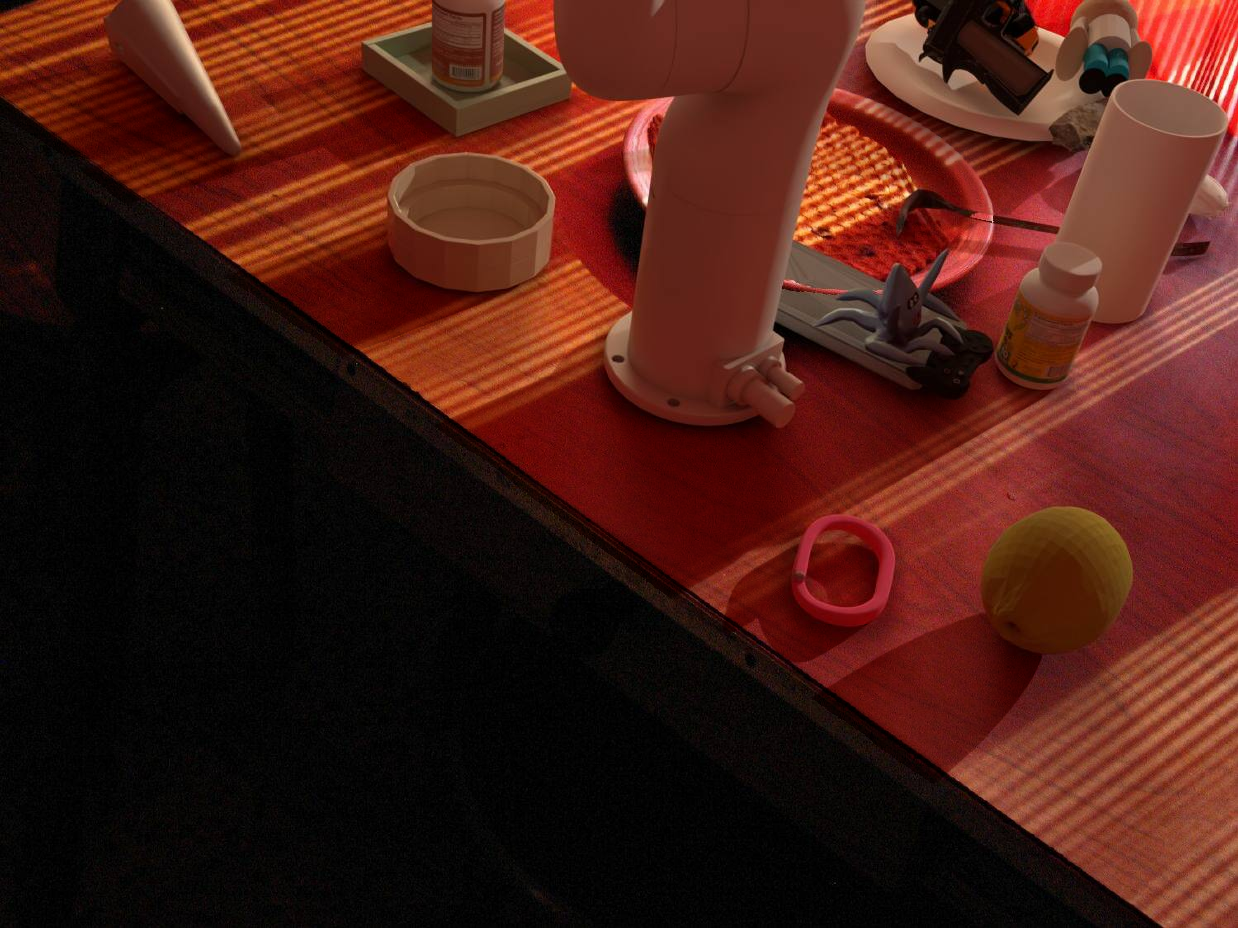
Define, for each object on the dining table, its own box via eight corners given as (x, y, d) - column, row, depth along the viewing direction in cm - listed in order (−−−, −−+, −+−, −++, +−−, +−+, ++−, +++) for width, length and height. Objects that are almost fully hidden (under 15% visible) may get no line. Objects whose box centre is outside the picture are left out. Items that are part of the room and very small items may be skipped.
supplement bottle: (1058, 401, 98) (1105, 291, 91) (985, 376, 99) (1026, 265, 92) (1072, 360, 101) (1118, 251, 95) (1001, 336, 103) (1042, 227, 96)
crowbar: (902, 213, 109) (899, 180, 113) (894, 237, 111) (892, 204, 115) (1225, 268, 109) (1212, 233, 113) (1213, 291, 111) (1200, 256, 115)
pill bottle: (475, 54, 125) (479, -67, 117) (516, 84, 121) (523, -39, 114) (417, 70, 121) (417, -54, 114) (457, 101, 118) (460, -24, 111)
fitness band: (806, 517, 86) (811, 500, 85) (897, 543, 86) (903, 526, 85) (780, 612, 81) (785, 595, 80) (879, 640, 80) (885, 623, 79)
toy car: (1113, 151, 125) (1126, 117, 122) (1234, 211, 119) (1249, 177, 117) (1084, 169, 122) (1097, 135, 120) (1206, 232, 117) (1221, 197, 114)
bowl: (583, 260, 104) (588, 210, 101) (455, 316, 98) (456, 263, 95) (484, 187, 110) (486, 137, 107) (357, 234, 104) (355, 182, 100)
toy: (1070, 37, 123) (1070, -28, 134) (1048, 98, 127) (1049, 30, 138) (1165, 59, 122) (1157, -8, 133) (1139, 119, 127) (1133, 49, 137)
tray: (570, 98, 122) (573, 71, 120) (455, 137, 115) (456, 109, 113) (475, 35, 129) (476, 9, 127) (361, 69, 122) (361, 41, 120)
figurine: (832, 301, 102) (871, 208, 98) (983, 371, 100) (1030, 279, 96) (794, 349, 95) (835, 251, 90) (956, 426, 92) (1006, 329, 88)
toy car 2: (903, 66, 129) (906, 90, 132) (1038, 58, 126) (1037, 84, 129) (912, -27, 135) (914, -2, 138) (1041, -36, 131) (1041, -10, 134)
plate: (848, 121, 124) (853, 104, 123) (872, 6, 142) (876, -10, 141) (1129, 179, 122) (1136, 162, 121) (1116, 54, 140) (1122, 39, 139)
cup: (1146, 275, 111) (1226, 94, 100) (1146, 334, 105) (1232, 148, 94) (1043, 251, 112) (1112, 69, 101) (1038, 308, 106) (1110, 121, 95)
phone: (728, 284, 102) (726, 298, 103) (921, 381, 96) (916, 394, 97) (786, 235, 107) (783, 249, 107) (973, 324, 101) (968, 338, 101)
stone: (1107, 106, 128) (1109, 76, 126) (1157, 115, 125) (1160, 85, 123) (1031, 155, 121) (1033, 124, 119) (1082, 166, 118) (1084, 134, 116)
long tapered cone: (295, 97, 109) (168, -20, 117) (223, 128, 106) (98, 5, 114) (302, 154, 114) (180, 37, 122) (234, 185, 111) (113, 63, 119)
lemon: (1034, 548, 87) (1077, 455, 81) (1137, 628, 83) (1189, 536, 77) (920, 624, 81) (958, 529, 76) (1025, 713, 77) (1072, 620, 72)
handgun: (1118, -51, 127) (995, -95, 130) (1030, 110, 122) (906, 61, 125) (1111, -33, 129) (991, -76, 132) (1026, 126, 125) (904, 77, 128)
